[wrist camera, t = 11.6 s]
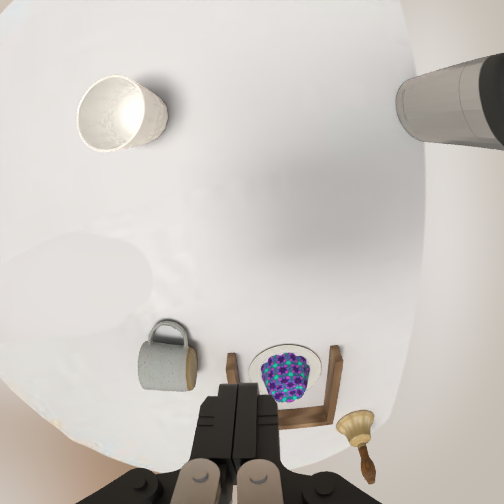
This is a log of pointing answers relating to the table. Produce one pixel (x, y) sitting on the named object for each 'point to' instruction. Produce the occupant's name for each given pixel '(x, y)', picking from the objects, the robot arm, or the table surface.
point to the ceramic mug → (167, 363)
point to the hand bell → (359, 438)
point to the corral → (310, 414)
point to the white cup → (120, 114)
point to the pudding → (285, 372)
